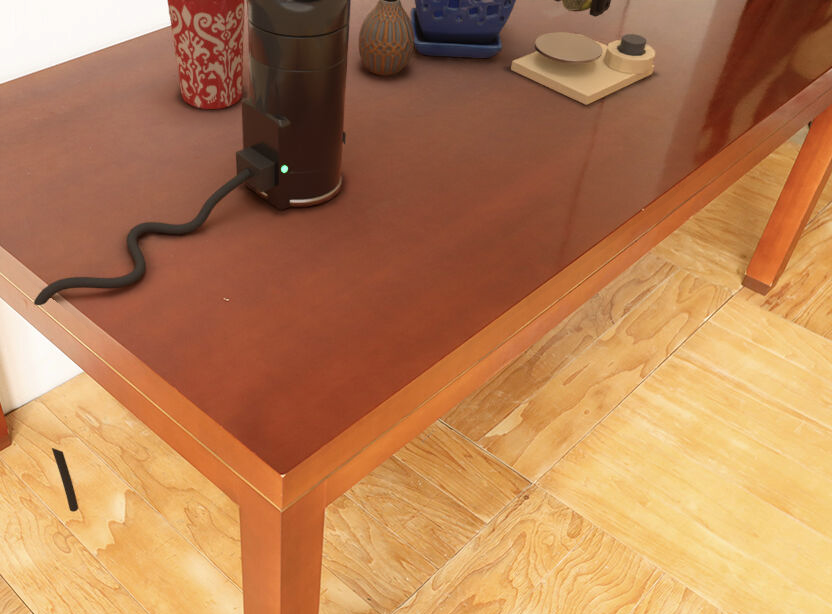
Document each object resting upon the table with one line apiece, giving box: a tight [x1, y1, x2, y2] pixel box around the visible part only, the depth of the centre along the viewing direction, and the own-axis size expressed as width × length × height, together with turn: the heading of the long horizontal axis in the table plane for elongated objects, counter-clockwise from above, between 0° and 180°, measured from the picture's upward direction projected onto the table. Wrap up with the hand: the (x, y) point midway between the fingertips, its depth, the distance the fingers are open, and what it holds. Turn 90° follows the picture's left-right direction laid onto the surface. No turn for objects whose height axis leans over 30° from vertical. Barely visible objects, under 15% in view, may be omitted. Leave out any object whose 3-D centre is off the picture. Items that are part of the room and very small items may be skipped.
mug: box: [167, 0, 246, 110], centre depth 98 cm, size 13×9×14 cm
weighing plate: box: [534, 31, 603, 64], centre depth 107 cm, size 8×8×1 cm
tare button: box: [619, 33, 647, 56], centre depth 108 cm, size 3×3×2 cm
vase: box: [358, 0, 415, 77], centre depth 105 cm, size 7×7×9 cm
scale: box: [510, 33, 656, 106], centre depth 109 cm, size 14×12×3 cm
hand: (577, 6), depth 104 cm, fingers closed on lime, 5 cm apart
